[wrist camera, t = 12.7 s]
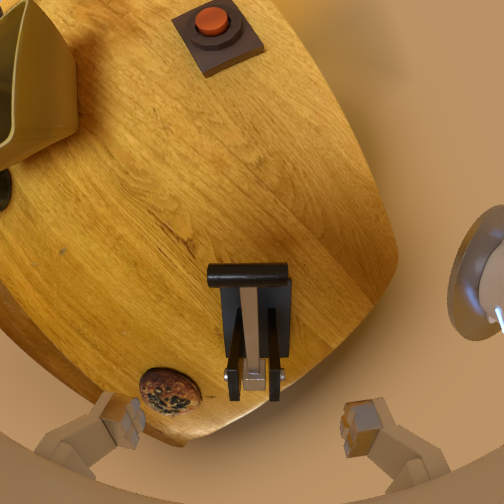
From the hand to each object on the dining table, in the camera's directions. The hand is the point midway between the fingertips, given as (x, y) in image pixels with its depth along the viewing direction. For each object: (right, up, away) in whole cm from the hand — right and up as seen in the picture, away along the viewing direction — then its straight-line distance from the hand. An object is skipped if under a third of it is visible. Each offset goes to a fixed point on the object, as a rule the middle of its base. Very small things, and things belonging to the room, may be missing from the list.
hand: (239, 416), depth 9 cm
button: (-4, +33, +15) cm, 36 cm away
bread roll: (-13, -17, +34) cm, 40 cm away
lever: (+1, 0, +14) cm, 14 cm away
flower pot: (-31, +28, +21) cm, 47 cm away
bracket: (+1, -3, +29) cm, 29 cm away
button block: (-4, +34, +19) cm, 39 cm away
